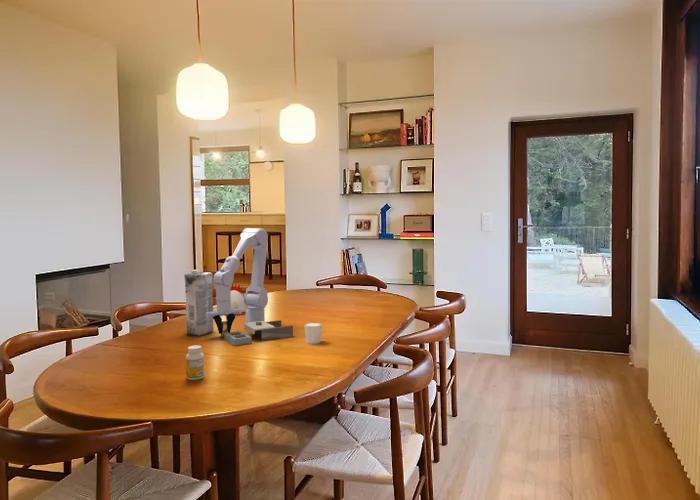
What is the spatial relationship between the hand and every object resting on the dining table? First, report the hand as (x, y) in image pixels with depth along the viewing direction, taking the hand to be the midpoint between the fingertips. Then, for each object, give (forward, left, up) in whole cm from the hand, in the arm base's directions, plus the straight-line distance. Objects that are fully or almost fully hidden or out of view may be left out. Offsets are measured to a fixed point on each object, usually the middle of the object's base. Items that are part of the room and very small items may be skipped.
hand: (224, 332), depth 215 cm
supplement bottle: (+47, -24, -2) cm, 53 cm away
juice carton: (-11, -7, -2) cm, 13 cm away
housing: (+9, +17, -1) cm, 20 cm away
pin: (0, 0, -1) cm, 1 cm away
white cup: (+28, +27, -2) cm, 39 cm away
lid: (+9, +12, +1) cm, 15 cm away
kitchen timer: (-44, +19, -2) cm, 48 cm away
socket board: (+11, +2, -1) cm, 11 cm away
